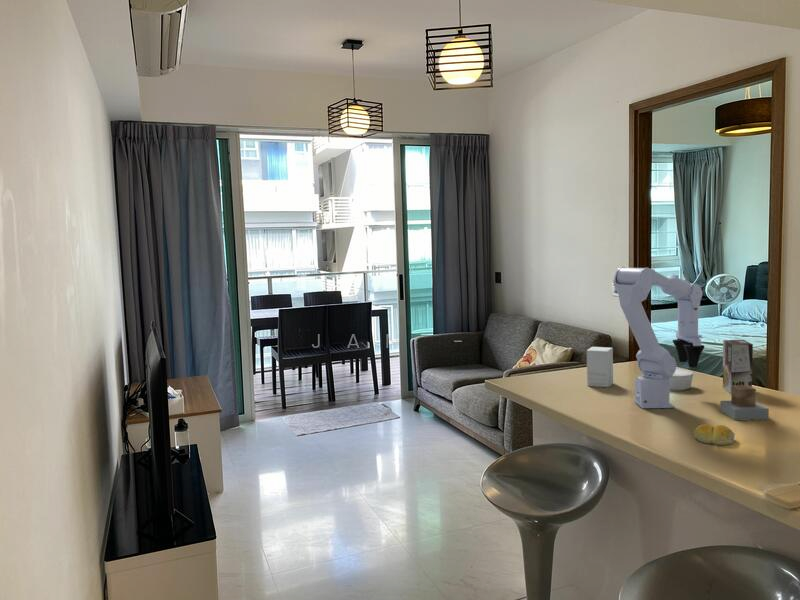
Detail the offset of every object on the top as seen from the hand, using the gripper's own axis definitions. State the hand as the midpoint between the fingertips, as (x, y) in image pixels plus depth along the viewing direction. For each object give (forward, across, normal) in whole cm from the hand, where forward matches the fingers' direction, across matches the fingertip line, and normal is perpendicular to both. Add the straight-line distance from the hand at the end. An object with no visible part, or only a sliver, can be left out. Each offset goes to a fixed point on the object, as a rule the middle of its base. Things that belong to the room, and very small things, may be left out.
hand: (688, 364), depth 198 cm
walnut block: (+7, -20, -7) cm, 23 cm away
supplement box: (+10, +19, +22) cm, 31 cm away
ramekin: (+11, +13, 0) cm, 17 cm away
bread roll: (+10, -41, +9) cm, 43 cm away
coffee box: (+11, +6, -18) cm, 21 cm away
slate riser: (+10, -20, -8) cm, 24 cm away
